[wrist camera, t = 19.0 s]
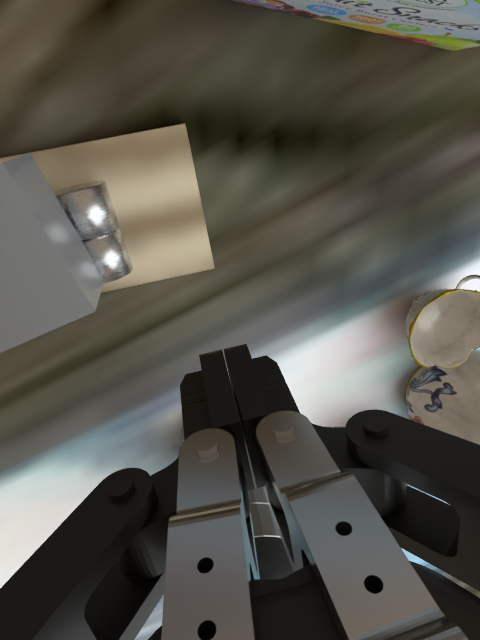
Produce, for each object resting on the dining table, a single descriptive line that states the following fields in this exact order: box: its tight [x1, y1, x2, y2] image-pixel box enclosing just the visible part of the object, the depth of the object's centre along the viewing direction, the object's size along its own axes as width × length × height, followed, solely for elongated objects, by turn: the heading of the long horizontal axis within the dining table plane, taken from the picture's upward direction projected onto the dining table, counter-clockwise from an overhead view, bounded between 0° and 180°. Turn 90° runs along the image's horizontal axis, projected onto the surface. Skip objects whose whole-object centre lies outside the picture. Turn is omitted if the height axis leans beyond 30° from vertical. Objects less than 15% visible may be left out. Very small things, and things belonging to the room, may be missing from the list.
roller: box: [54, 181, 133, 284], centre depth 35 cm, size 7×4×4 cm, turn 11°
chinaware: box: [405, 275, 480, 485], centre depth 44 cm, size 28×17×17 cm, turn 170°
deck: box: [0, 123, 214, 293], centre depth 33 cm, size 12×28×9 cm, turn 99°
